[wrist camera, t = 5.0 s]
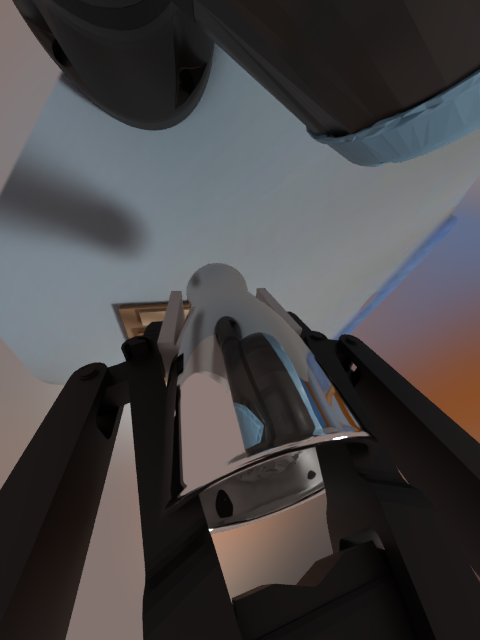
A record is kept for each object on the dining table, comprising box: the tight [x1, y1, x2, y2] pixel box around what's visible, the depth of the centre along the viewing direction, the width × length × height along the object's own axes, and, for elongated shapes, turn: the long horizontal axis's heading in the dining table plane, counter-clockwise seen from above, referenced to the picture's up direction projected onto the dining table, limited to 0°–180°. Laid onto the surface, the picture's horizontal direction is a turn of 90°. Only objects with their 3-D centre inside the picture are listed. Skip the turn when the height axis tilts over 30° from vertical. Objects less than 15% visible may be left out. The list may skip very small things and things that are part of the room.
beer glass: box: [158, 263, 379, 534], centre depth 11 cm, size 7×7×15 cm
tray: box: [118, 302, 190, 383], centre depth 32 cm, size 18×16×2 cm
